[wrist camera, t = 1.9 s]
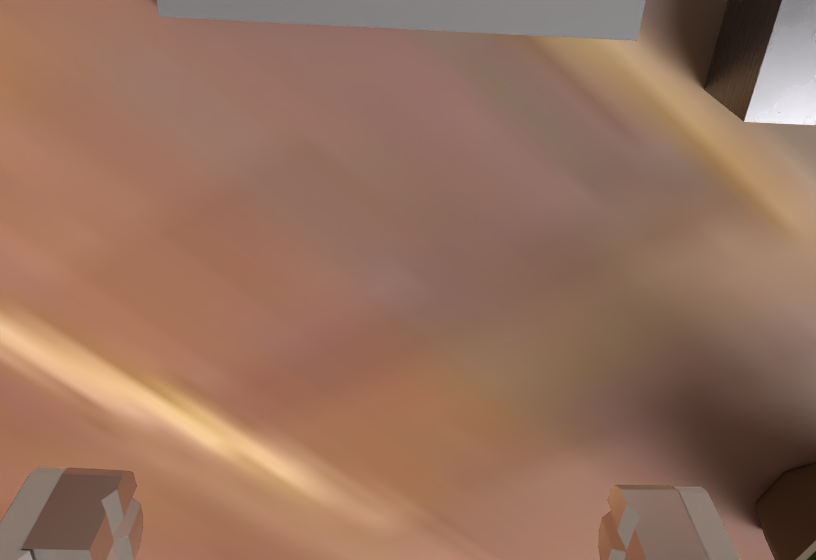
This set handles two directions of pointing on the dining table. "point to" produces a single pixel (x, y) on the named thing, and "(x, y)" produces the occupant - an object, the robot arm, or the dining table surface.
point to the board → (433, 15)
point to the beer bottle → (791, 515)
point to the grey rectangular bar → (766, 61)
